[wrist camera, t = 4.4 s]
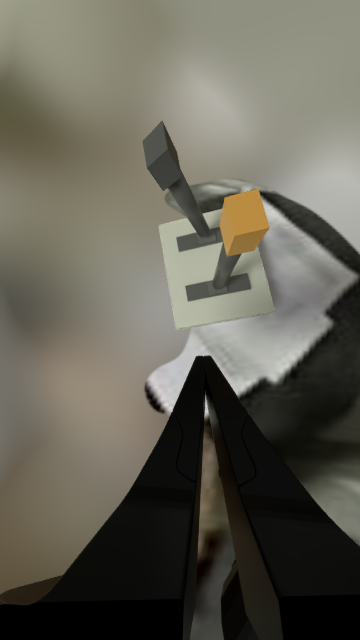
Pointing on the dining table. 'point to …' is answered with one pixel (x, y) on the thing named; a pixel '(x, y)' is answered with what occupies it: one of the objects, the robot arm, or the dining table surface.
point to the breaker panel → (201, 252)
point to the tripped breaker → (239, 232)
